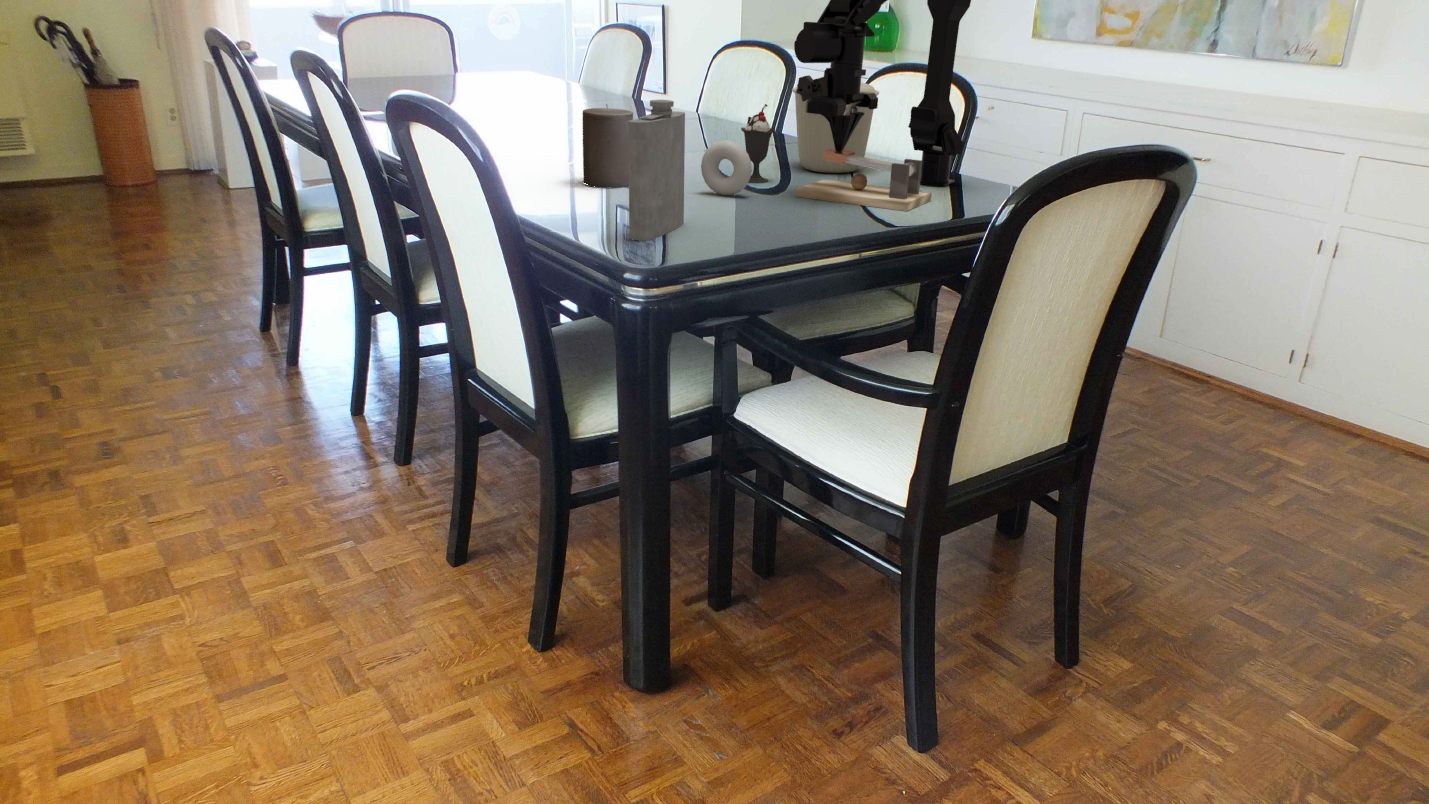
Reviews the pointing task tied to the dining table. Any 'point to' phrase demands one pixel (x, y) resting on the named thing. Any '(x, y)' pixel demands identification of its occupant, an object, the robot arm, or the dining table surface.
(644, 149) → the hip flask
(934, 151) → the robot arm
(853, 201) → the base
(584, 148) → the pillar candle
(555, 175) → the dining table surface
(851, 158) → the lever
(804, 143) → the canister
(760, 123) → the sundae
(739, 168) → the donut
